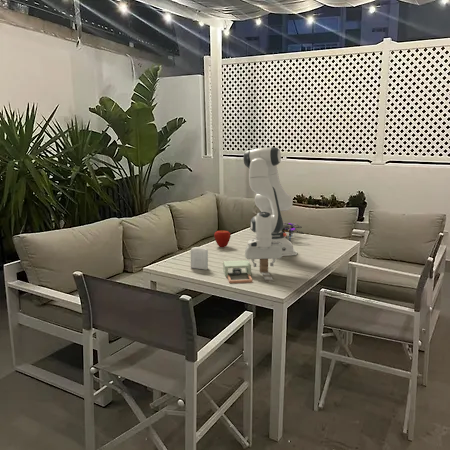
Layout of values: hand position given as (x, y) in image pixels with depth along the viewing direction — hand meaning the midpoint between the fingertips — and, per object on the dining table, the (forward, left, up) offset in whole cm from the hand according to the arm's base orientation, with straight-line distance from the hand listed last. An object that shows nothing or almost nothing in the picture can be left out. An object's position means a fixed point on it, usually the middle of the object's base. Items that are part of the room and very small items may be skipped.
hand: (263, 266), depth 250 cm
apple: (+17, -58, -4) cm, 60 cm away
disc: (+15, 0, -4) cm, 15 cm away
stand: (+15, 0, -3) cm, 15 cm away
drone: (-30, -80, -4) cm, 85 cm away
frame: (+15, +11, -3) cm, 19 cm away
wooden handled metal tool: (0, +7, -3) cm, 8 cm away
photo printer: (+35, -12, -4) cm, 37 cm away
